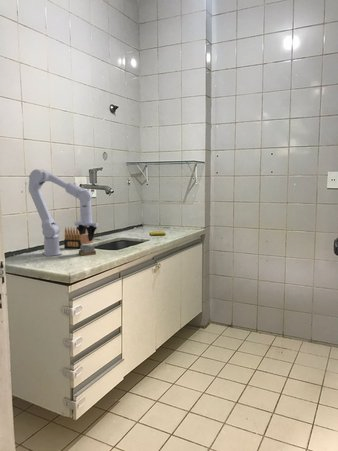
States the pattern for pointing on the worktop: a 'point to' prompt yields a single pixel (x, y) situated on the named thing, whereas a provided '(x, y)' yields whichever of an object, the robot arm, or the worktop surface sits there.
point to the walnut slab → (87, 253)
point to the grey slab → (87, 248)
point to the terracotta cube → (85, 239)
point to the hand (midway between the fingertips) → (87, 240)
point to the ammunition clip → (72, 239)
